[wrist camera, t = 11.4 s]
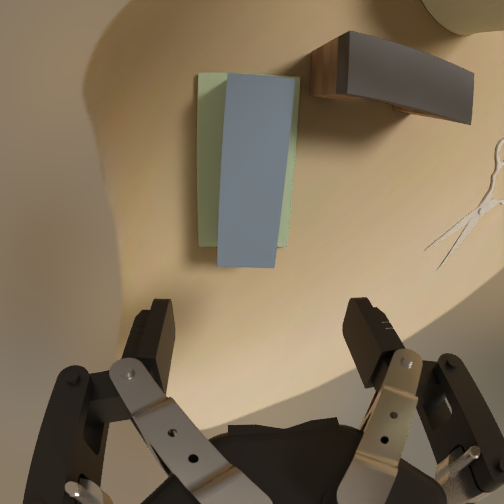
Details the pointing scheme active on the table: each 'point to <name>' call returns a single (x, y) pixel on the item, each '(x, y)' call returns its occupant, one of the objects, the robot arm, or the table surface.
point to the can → (468, 15)
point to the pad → (211, 155)
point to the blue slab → (253, 168)
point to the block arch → (392, 77)
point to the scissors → (479, 211)
